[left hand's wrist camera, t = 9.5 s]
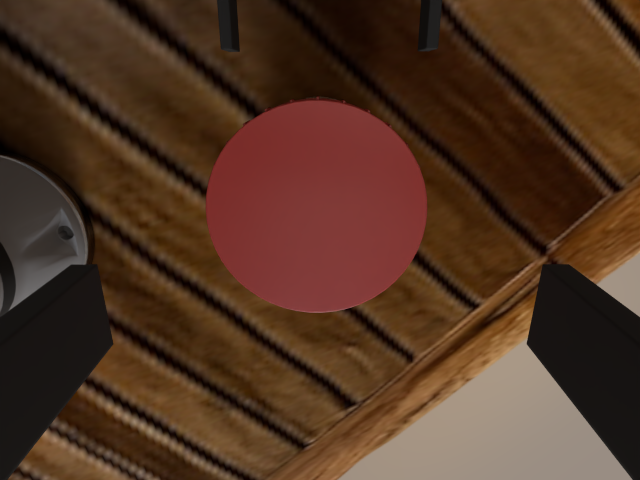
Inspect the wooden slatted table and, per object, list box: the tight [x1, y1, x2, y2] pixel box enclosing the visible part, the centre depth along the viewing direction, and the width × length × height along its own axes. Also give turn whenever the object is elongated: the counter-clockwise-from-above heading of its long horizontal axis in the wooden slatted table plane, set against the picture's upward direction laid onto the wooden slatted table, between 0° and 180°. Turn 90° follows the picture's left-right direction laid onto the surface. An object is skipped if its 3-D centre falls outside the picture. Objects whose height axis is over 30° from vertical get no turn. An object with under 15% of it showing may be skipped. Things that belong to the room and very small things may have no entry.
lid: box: [206, 96, 427, 312], centre depth 20 cm, size 10×10×2 cm
